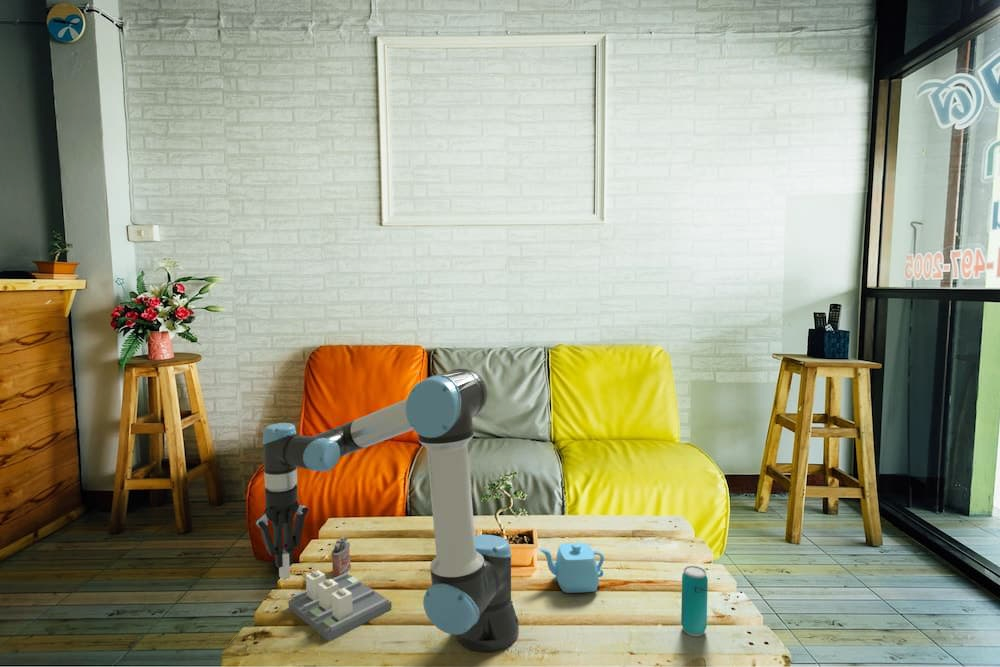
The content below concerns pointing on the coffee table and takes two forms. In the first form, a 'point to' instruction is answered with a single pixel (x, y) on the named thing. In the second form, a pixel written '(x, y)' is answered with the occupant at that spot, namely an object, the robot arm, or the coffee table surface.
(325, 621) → the grey slotted block holder
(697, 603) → the beverage can
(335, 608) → the white hollow block
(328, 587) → the white rectangular block
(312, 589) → the white hollow block
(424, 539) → the coffee table surface
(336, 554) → the lighter
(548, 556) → the teapot
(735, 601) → the coffee table surface
